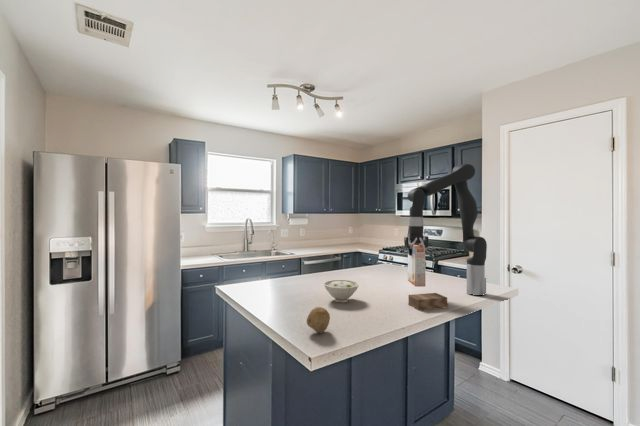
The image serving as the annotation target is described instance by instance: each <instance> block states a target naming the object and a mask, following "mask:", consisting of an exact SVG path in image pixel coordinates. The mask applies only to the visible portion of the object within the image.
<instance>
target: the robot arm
mask: <svg viewBox="0 0 640 426" xmlns="http://www.w3.org/2000/svg"><path fill="white" fill-rule="evenodd" d="M475 174H476V168H475V167H474V166H473V165H472V164H470V163H463V164H458V165H455V166H454V167H453V168H452V172H451V173H448V174H446V175H444V176H441V177H438V178H435V179H433V180H431V181H428V182H427V183H425V184H423V185H420V186H418V187H415V188H413V189H411V190H409V191H408V193H407V196H406V197H407V199H408V201H410V202H412V204H411V207H409V219H408V221H409V222H408V224H409V225H408V226H409V227H408V228H409V229H408V230H409V231H408V233H409V236H403V240H404V247H405V248H407V255H408V254H409V255H410V256H412V247H413V245H417V244H418V246H421V247H424V248H425V249H426V248H428V247H429V238H430V237H429V236H427V235H424V205H425V200H426V197H428V196H433V195H434V194H437V193H438V192H439V193H440V192H441V191H443V190H445V189H447V188H449V187H451V186H453V185H454V187H455V190H456V196H457V203H458V210H459V215H460V216H459V217H460V221H461V228H462V229H461V230H462V243H463V244H462V245H463V248H464V249H465V250H466V251H467V252H471V253H472V256H471V257H469V258H466V294H467V293H469V294H474V295H483V294H485V293H486V294H487V278H486V276H485V274H486V272H485V271H486V269H485V266H486V265H485V264H486V259H487V249H488V245H487V240H486V239H485V238H484V237H482V236H477V235H475V233H474V225H475V223H476V220H477V218H478V214H479V211H478V205H477V201H476V199H475V197H474V195H473V194H472V193H471V191H470V188H469V186H468V181H469V180H472V178H473V177H475ZM469 294H468V295H469Z"/></svg>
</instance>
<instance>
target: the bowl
mask: <svg viewBox="0 0 640 426" xmlns="http://www.w3.org/2000/svg"><path fill="white" fill-rule="evenodd" d="M322 283H323V286H324V287H325V289H326V291H327V292H328V294H329V295H330V296H331V297H332V298H334V301H335V302H337V303H346V302H348V301H349V298H351V297H352V296H353V295H354V294H355V292H356V291H357V290H358V288H359V285H360V283H359V282H357V281H354V280H349V279H348V280H347V279H331V280H326V281H325V282H322Z"/></svg>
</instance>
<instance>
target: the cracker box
mask: <svg viewBox="0 0 640 426" xmlns="http://www.w3.org/2000/svg"><path fill="white" fill-rule="evenodd" d="M407 282H409V283H410V284H411V285H413V286H414V287H422V288H423V287H426V248H424V247H421V246H420V245H419V244H418V245H417V244H414V245H413V247H412V256H410V255H409V254H408V253H407Z"/></svg>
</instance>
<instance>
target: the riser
mask: <svg viewBox="0 0 640 426" xmlns="http://www.w3.org/2000/svg"><path fill="white" fill-rule="evenodd" d="M408 306H410V307H411V308H413V307H414V309H415V310H417V311H425V310H424V309H428V310H435V309H434V308H439V309H444V308H443V307H447V308H448V297H447V296H444V295H442V294H441V293H437V292H431V293H430V292H429V293H428V292H427V293H417V294H416V293H415V294H409V295H408Z"/></svg>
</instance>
